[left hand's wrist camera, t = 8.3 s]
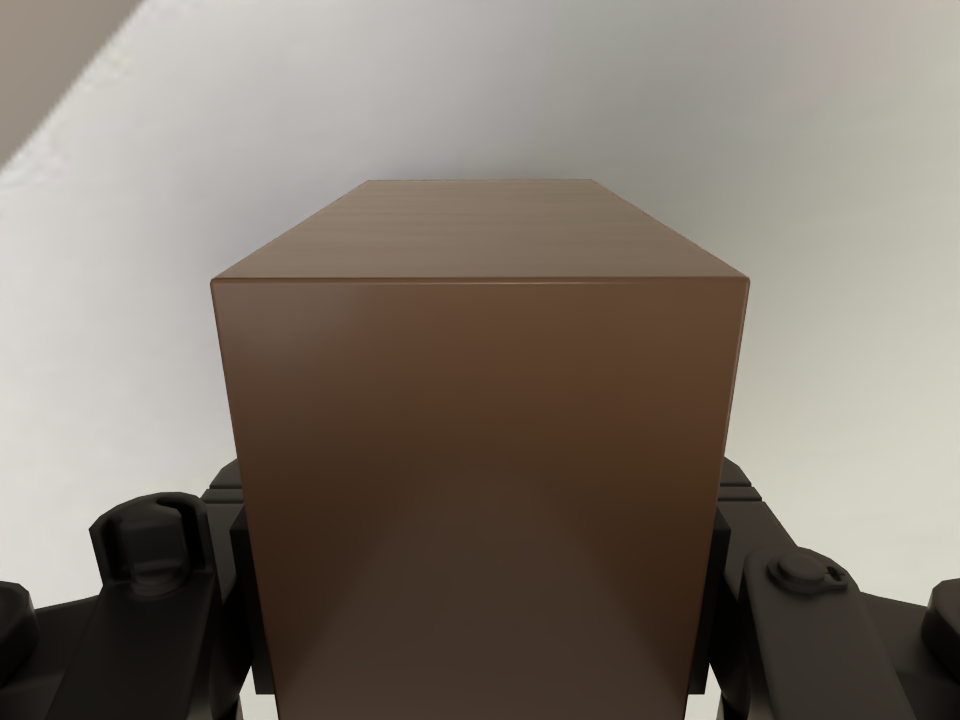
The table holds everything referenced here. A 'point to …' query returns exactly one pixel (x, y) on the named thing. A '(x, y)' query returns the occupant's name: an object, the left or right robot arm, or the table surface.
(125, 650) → the left robot arm
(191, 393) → the table surface
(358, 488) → the bar
